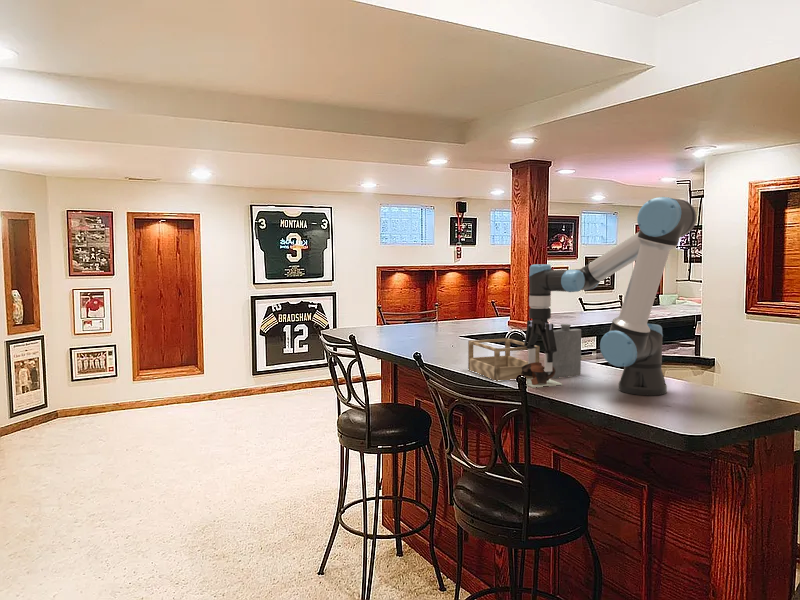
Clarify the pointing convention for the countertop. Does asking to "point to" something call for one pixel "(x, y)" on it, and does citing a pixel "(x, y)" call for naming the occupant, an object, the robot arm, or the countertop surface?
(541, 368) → the pottery mug
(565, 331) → the hip flask
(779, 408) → the countertop surface
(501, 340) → the oak crate
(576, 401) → the countertop surface
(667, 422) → the countertop surface
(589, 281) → the robot arm
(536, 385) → the sage board
